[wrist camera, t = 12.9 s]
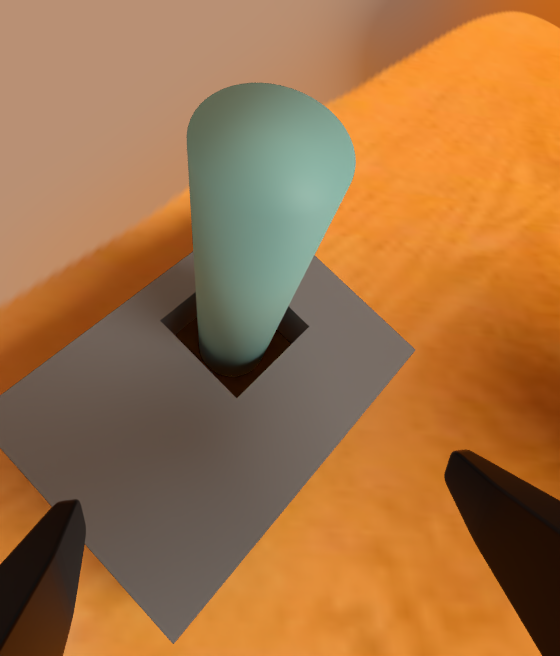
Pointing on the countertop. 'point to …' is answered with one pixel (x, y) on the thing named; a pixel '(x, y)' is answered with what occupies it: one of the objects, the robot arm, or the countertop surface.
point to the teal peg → (258, 211)
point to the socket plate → (192, 432)
